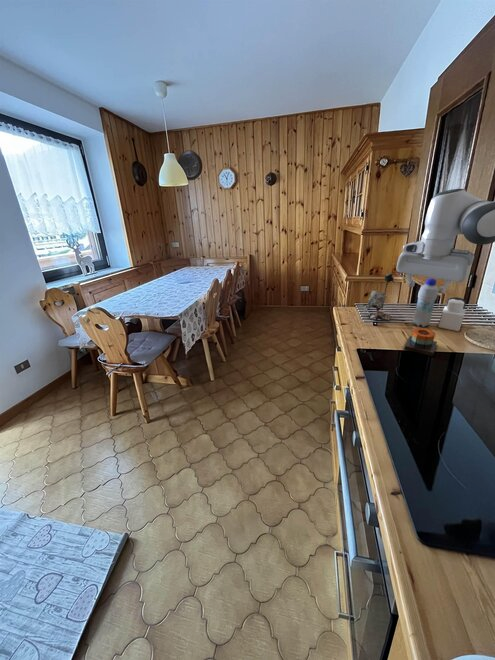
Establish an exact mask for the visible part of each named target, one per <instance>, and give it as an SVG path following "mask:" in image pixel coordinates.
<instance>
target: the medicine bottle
mask: <svg viewBox="0 0 495 660" xmlns="http://www.w3.org/2000/svg"><path fill="white" fill-rule="evenodd" d="M466 305H467V300H466V299H464V298H462V297H457V296H456V297H455V296H454V297H449V298H448V299H447V302H446V305H445V306H444V307H443V309H442V312H441V316H440V318H439V324H438V328H440V329H444V330H445V329H446V330H450V331H455V332H460V330H461V326H462V324H463V320H464V317H465V315H466V311H467V310H466Z"/></svg>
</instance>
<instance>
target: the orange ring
mask: <svg viewBox="0 0 495 660" xmlns="http://www.w3.org/2000/svg"><path fill="white" fill-rule="evenodd" d="M421 332H426V333H427V335H424V334H420V333H421ZM411 336H413V337H415V338H416V339H417V338H418V339H419V340H424V341H425V340H426V341H430V340H434V341H435V337H436V332H435V331H433V330H432V329H429V328H425V327H416V328H413V329H412V333H411Z"/></svg>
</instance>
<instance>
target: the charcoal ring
mask: <svg viewBox="0 0 495 660" xmlns="http://www.w3.org/2000/svg"><path fill="white" fill-rule="evenodd" d="M410 343H411V344H412V345H413V346H416V347H418V348H422V349H423V348H424V349H427V348H431V347H432V344H433V343H432V344H428V345H425V344H424V345H423V344H419V343H417V342H414V341H413V340H412V339H411V341H410Z"/></svg>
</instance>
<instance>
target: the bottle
mask: <svg viewBox="0 0 495 660" xmlns="http://www.w3.org/2000/svg"><path fill="white" fill-rule="evenodd" d="M436 284H437V279H436V278H427V279H426V280H425V284H422V285H421V286H420V288H419V290H418V294H417V302H416V306H415V311H414V313H413V317H412V323H413V325H415V326H417V327H420V326H421V328H425V327H428V326H429V325H430V323H431V320H432V314H433V310H434V306H435V302H436V300H437V299H438V298H437V297H438V296H439V287H438V286H437V285H436Z"/></svg>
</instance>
